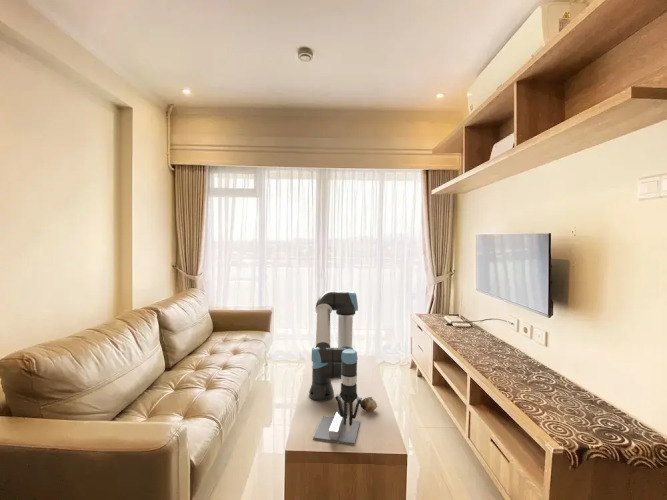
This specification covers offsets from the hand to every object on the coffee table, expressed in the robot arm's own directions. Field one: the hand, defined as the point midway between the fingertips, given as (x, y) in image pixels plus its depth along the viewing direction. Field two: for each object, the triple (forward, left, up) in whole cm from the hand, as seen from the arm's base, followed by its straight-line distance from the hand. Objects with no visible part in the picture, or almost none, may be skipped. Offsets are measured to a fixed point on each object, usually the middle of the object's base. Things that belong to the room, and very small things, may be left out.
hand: (347, 431), depth 164 cm
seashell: (-29, +7, -4) cm, 30 cm away
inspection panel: (-6, -6, -4) cm, 9 cm away
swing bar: (-5, -6, -2) cm, 8 cm away
